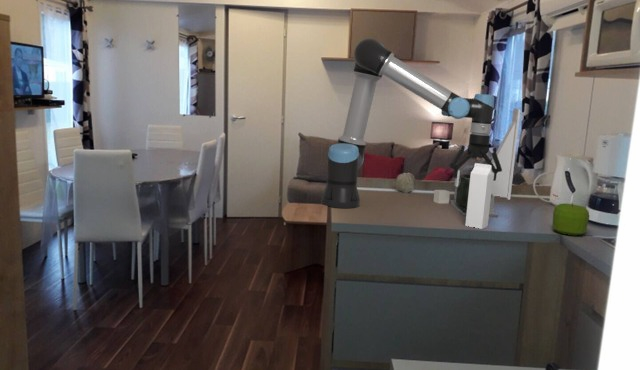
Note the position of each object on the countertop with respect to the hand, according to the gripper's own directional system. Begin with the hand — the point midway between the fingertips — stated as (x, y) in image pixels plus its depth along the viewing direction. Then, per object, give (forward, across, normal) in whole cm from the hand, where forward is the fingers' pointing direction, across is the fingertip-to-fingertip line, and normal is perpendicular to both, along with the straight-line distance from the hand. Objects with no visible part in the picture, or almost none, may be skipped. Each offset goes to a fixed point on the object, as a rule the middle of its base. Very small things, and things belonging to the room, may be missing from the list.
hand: (473, 187), depth 211 cm
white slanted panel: (+9, +20, +36) cm, 42 cm away
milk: (+9, -6, -28) cm, 30 cm away
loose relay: (+9, -9, +11) cm, 17 cm away
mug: (+8, 0, 0) cm, 8 cm away
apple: (+8, +25, -31) cm, 41 cm away
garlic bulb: (+10, -22, +30) cm, 39 cm away
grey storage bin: (+9, +1, 0) cm, 9 cm away
